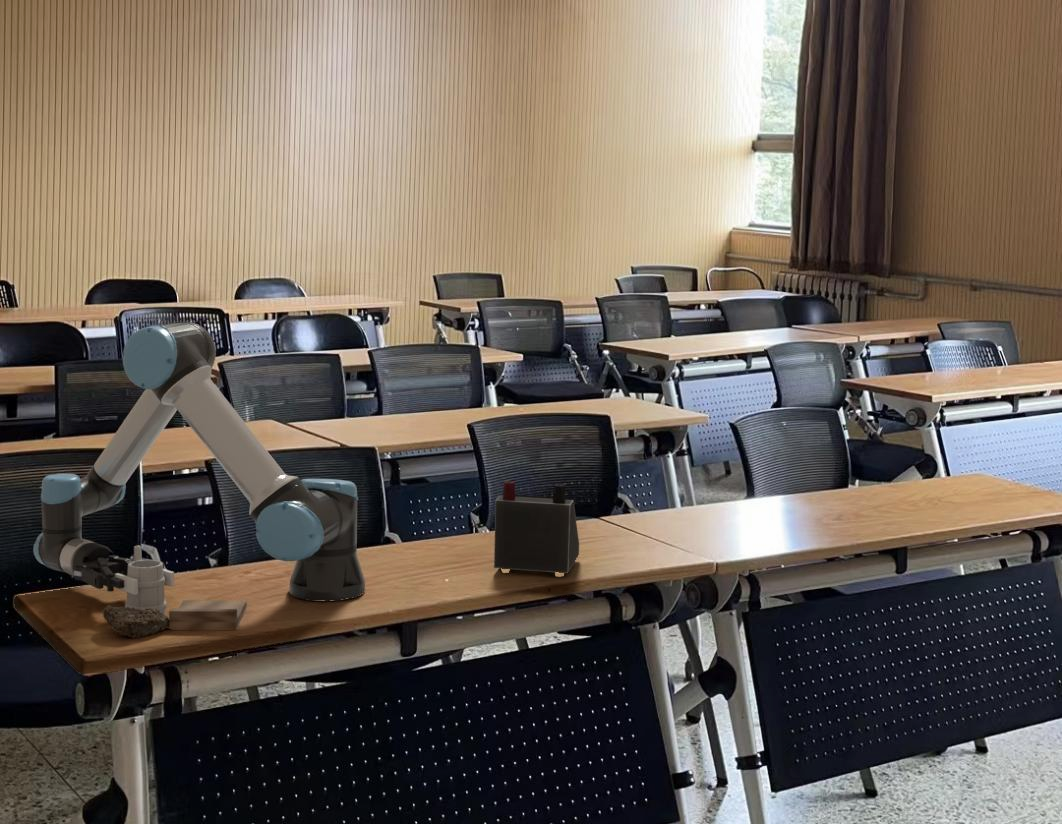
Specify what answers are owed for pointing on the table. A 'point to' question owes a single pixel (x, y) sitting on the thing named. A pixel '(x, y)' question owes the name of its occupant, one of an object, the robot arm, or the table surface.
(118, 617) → the concrete sample
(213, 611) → the rest board
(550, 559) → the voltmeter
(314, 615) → the table surface
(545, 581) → the table surface
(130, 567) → the mug
